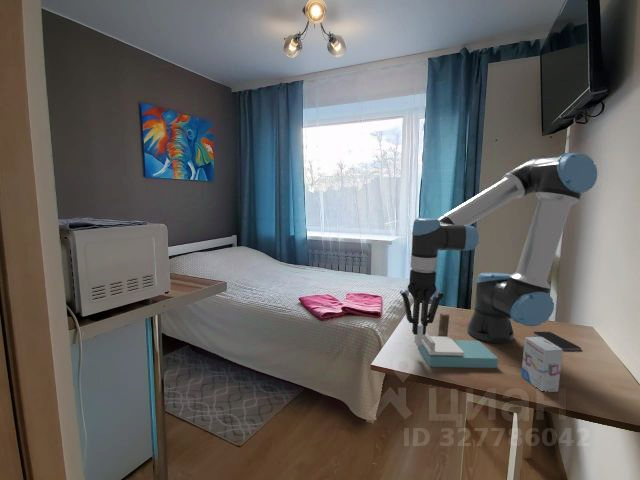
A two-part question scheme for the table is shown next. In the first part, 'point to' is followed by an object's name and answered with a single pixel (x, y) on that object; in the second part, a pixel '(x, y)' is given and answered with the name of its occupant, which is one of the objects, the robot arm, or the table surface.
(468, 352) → the board
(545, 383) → the ink box
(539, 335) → the smartphone
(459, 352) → the cover
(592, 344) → the table surface
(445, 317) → the peg
